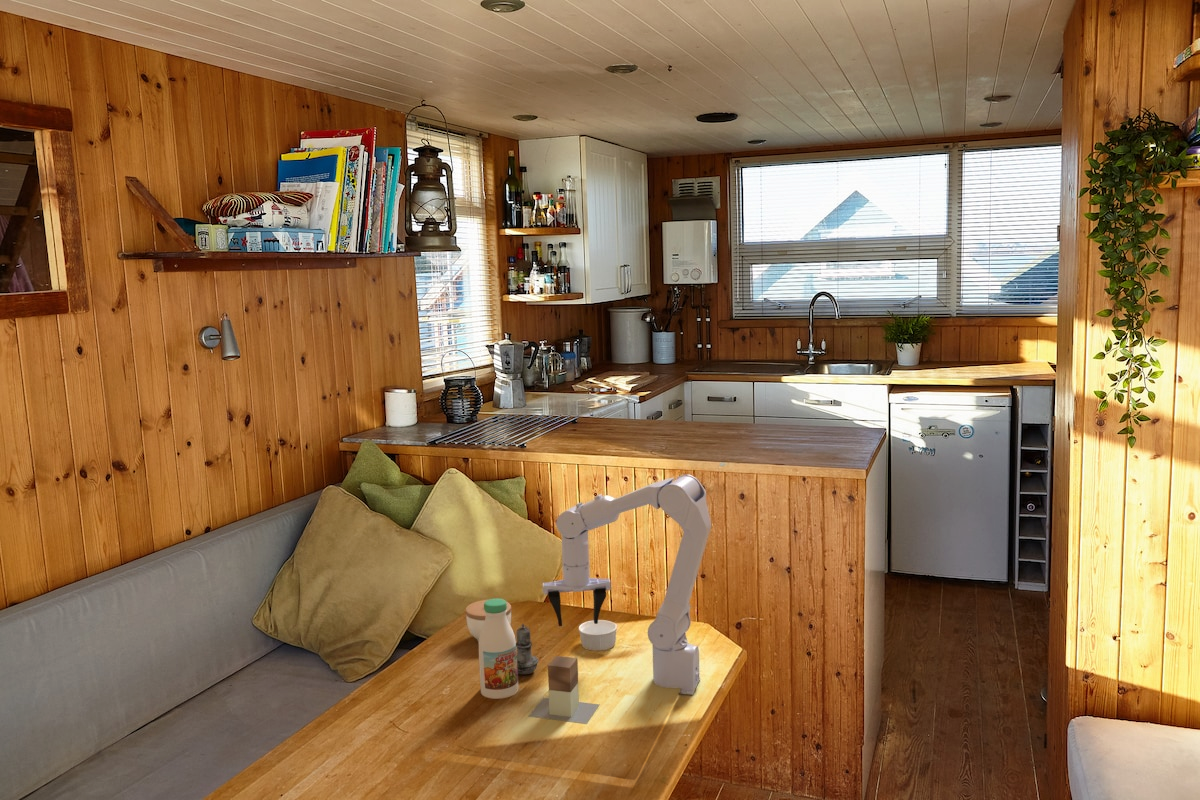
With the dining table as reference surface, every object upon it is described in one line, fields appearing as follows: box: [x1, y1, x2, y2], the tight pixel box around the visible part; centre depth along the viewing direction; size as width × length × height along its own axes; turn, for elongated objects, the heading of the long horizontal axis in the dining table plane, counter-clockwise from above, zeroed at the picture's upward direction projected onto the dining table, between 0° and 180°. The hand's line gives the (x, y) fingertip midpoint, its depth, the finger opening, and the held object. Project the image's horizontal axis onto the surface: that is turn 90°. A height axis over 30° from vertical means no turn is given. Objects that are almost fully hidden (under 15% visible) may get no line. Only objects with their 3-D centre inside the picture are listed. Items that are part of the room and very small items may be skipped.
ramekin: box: [578, 619, 618, 652], centre depth 217 cm, size 9×9×4 cm
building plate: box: [528, 697, 601, 725], centre depth 184 cm, size 12×8×1 cm, turn 72°
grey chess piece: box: [516, 623, 539, 675], centre depth 200 cm, size 6×6×12 cm
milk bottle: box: [478, 598, 519, 700], centre depth 192 cm, size 8×8×20 cm
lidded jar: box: [465, 598, 512, 643], centre depth 221 cm, size 11×11×9 cm
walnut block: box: [547, 655, 579, 692], centre depth 183 cm, size 4×4×5 cm
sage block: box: [548, 682, 580, 717], centre depth 183 cm, size 4×4×5 cm
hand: (577, 623), depth 203 cm, fingers open, 7 cm apart
